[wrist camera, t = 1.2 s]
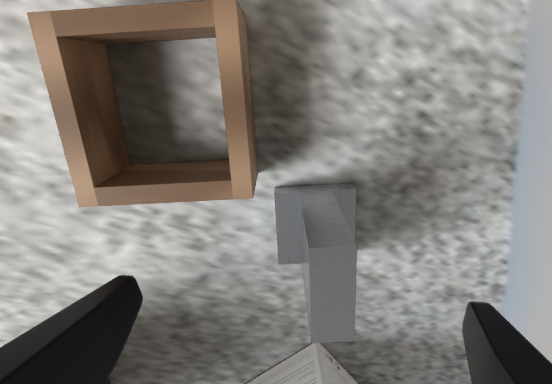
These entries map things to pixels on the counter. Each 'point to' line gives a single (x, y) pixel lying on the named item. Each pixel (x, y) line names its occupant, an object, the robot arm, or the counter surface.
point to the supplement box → (307, 369)
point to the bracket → (321, 253)
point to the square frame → (105, 113)
